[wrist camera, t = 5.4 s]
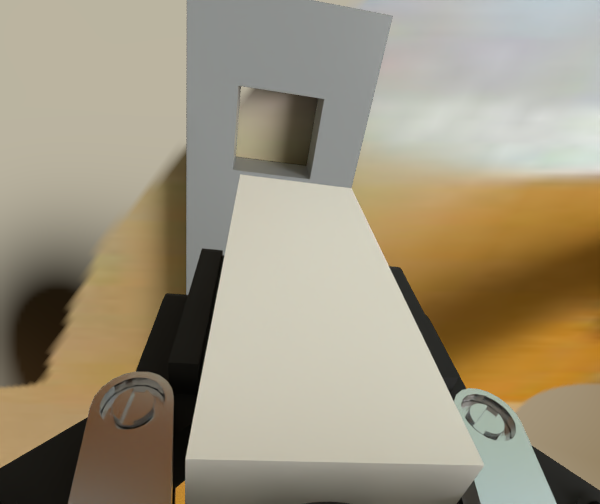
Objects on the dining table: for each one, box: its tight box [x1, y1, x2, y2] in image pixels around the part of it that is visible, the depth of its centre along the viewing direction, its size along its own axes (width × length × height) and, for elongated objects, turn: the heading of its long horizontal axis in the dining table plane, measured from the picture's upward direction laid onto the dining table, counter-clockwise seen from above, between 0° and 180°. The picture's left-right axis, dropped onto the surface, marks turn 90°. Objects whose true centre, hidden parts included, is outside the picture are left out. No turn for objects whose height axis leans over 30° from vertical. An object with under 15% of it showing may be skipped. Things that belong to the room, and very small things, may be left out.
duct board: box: [186, 0, 393, 295], centre depth 31 cm, size 12×34×5 cm, turn 171°
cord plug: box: [185, 174, 484, 504], centre depth 9 cm, size 4×4×12 cm
